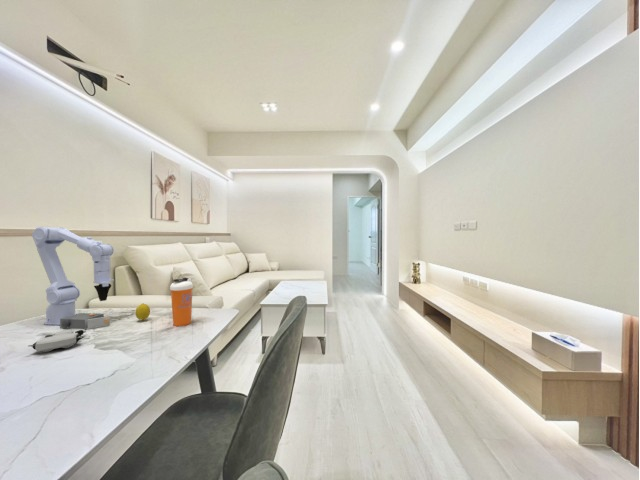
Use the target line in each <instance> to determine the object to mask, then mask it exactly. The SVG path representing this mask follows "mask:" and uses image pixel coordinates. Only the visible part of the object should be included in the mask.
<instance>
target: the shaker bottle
mask: <svg viewBox="0 0 640 480" xmlns="http://www.w3.org/2000/svg"><path fill="white" fill-rule="evenodd" d="M172 281H173V282H172V283H171V284H170V286H169V290H170V296H171V297H170V299H171V311H172V313H171V314H172V323H173V326H174V327H182V326H183V327H184V326H187V325H189V324H191V323H192V315H193V314H192V312H193V311H192V310H193V289H194V283H193V282H192V278H190V277H182V278H174V279H172Z"/></svg>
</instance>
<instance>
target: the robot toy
mask: <svg viewBox="0 0 640 480" xmlns="http://www.w3.org/2000/svg"><path fill="white" fill-rule="evenodd" d="M84 333H87V329H78V330H76V331H74V330H73V329H66V330H65V329H64V330H61V331H56V332H55V333H54V334H53V335H52V334H48V335H45V336H44V337H43V338H40V339H38V340H37V341H36V342H34V343H33V344H28V345H27V347H32V348H33V350H36V351H39V352H44V353H49V352H51V351H53V350H54V349H55V350H56V349H60V348H62V349H68V348H71V347H72V346H74V345H75V344H76V343H77V342H80V340H81V339H82V338H83V335H84Z"/></svg>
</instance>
